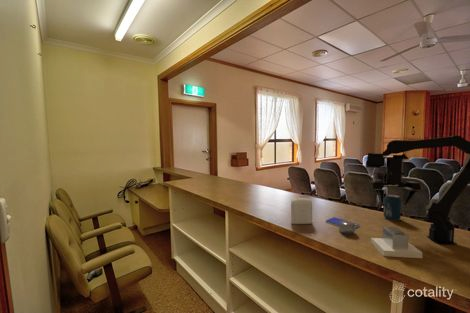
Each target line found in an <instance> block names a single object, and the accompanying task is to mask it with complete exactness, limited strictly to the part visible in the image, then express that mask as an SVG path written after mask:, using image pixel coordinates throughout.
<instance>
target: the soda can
mask: <svg viewBox="0 0 470 313" xmlns="http://www.w3.org/2000/svg"><path fill="white" fill-rule="evenodd" d="M401 210H402V199H401V196H400V195H398V194H394V193H389V194H385V196H384V198H383V216H384V218H385V219H386V220H389V221H394V222H396V221H400V219H401V218H402V217H401V216H402V215H401V214H402V213H401Z"/></svg>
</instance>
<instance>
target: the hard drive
mask: <svg viewBox="0 0 470 313" xmlns="http://www.w3.org/2000/svg"><path fill="white" fill-rule="evenodd" d="M340 221H348V222H350V221H349V220H345V219H342V218H339V217H335V216H333V217H331V218H329V219H325V223H327V224H330V225H332V226H336V227H339V228H340ZM351 222H352V221H351ZM352 223H354V224H355V229H357V228H358V227H361V225H360V223H356V222H352Z"/></svg>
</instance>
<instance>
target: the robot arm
mask: <svg viewBox="0 0 470 313" xmlns="http://www.w3.org/2000/svg"><path fill="white" fill-rule="evenodd" d="M443 147H454V148H457V149H458V150H459V151H461V152H463V153H465V154H466V156H465V158H464V162H463V165H462V167H461V169H460V170H458V171H459V172H458V173H457V174H456V176H455V177H454V178H453V180H452V181H451V182H450V184H448V186H447V188H446V189H445V191H444V192H443V193H442V195H441V196H440V197H438V198H437V199H436V200H435V199H433V198H431V199H430V202H429V204H427V205H425V209H426V210H425V211H426V216H427V217H426V218H428V220H429V221H430V222H432V223H430V227H429V229H428V235H427V236H426V237H427V238H429V240H431V241H433V242H435V243H436V244H438V245H439V244H440V245H455V246H456V245H458V243H457V242H456V241H455V225H454V224H455V223H454V222H453V220H452V218H451V217H450V216H449V215H450V213H451V209H452V207H453V204H454V203H455V202H456V201H457V199H458V198H459V196H460V195H462V193H463V191H465V189H466V188H467V186H468V185H469V184H470V140H467V139H465V138H464V137H462V136H461V135H451V136H446V137H445V136H444V137H434V138H426V139H425V138H424V139H417V140H410V139H409V140H407V139H406V140H405V139H400V140H399V139H395V140H391V141H389V142H388V143H387V144H386V149H385V150H383V151H382V153H377V152H376V153H373V152H368V153H367V158H366V161H365V162H366V163H365V164H366V168H370V169H371V168H374V169H382V168H383V167H386V169H385V170H384V171H383V173H382V172H375V175H374V176H375V177H374V178H375V180H369V181H368V182H367V187H369V188H371V189H372V190H374V192H375V193H376V195H377V198H378V200H379V204H380V205H384V198H385V196H384V195H385V189H383V188H402V190H403V196H402V197H403V199H402V204H403V205H405V206H406V205H407V204H408V203H409V201H410V199H411V198H412V197H413V196H414V195H415V194H416V193H418V191H422V187H423V186H422V184H421V183H420V182H417V181H414V180H404V181H403V176H404V175H405V171H403V168H404V160H409V156H407V155H406V154H405V152H410V151H413V150H423V149H431V148H432V149H433V148H434V149H435V148H443ZM401 153H402V154H401ZM390 155H392V156H390Z"/></svg>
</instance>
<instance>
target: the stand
mask: <svg viewBox="0 0 470 313" xmlns="http://www.w3.org/2000/svg"><path fill="white" fill-rule="evenodd" d="M370 243H371V245H372V246H374V248H376V250H377V251H378V252H379V253H380V254H381V255H382V256H384V257H395V258H409V259H410V258H412V259H423V252H422V251H421V250H419V248H417V247H416V246H414V245H413V244H411V243H410V242H409V243H408V250H404V249H392V248H391V247H390V246H389V245H388V244H387V243H385V242H384V241H383V237H382V238H381V237H370Z"/></svg>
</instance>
